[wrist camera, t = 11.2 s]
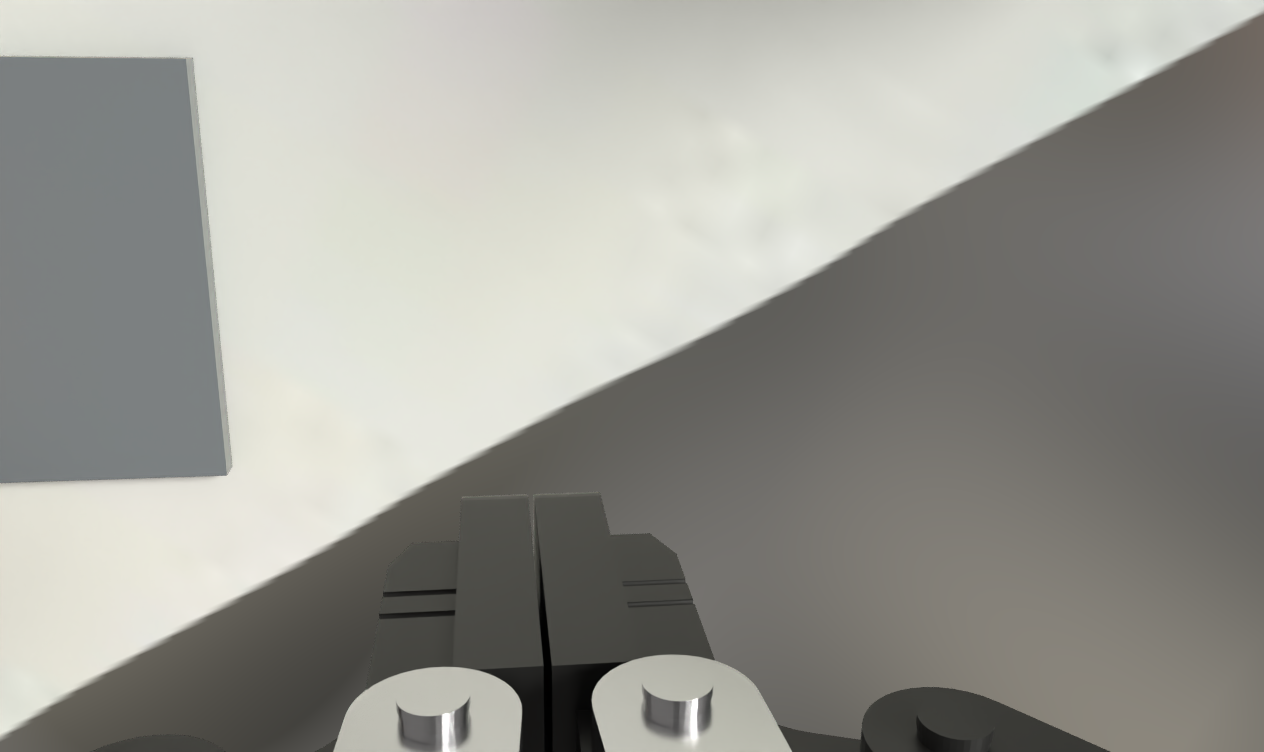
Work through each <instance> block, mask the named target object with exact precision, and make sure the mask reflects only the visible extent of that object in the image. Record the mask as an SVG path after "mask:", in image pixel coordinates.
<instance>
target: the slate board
mask: <svg viewBox="0 0 1264 752" xmlns="http://www.w3.org/2000/svg"><path fill="white" fill-rule="evenodd" d="M231 468H232V458H231V447H230V437H229V427H228V417H227V406H226V396H225V386H224V375H223V365H222V355H221V345H220V334H219V324H218V314H217V303H216V293H215V283H214V272H213V262H212V252H211V242H210V231H209V221H208V211H207V200H206V190H205V180H204V170H203V159H202V149H201V139H200V128H199V118H198V108H197V98H196V87H195V77H194V67H193V58H162V57H62V56H0V483H14V482H44V481H74V480H105V479H135V478H165V477H195V476H226V475H228V473H229V471H230V470H231Z"/></svg>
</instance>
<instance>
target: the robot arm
mask: <svg viewBox="0 0 1264 752" xmlns="http://www.w3.org/2000/svg"><path fill="white" fill-rule="evenodd" d="M533 537H534V538H533V539H534V540H533V541H534V555H533V544H532V533H531V522H530V511H529V500H528V494H525V495H524V494H523V495H496V496H468V497H461V513H460V532H459V541H447V542H421V543H412V544H411V545H409V546H408V547H407V548H406V550H404V551H403V552H402V553H401V554H400V555H399V556H398V557H397V558H396V559H395V560H394V561H393V562H392V563H391V564H390V565H389V566H388V569H387V574H386V580H385V585H384V591H383V597H382V602H381V607H380V613H379V616H380V617H379V620H378V624H377V630H376V635H375V641H374V646H373V652H372V657H371V663H370V668H369V674H368V679H367V685H366V690H365V691H364V692H363V693H362V694H361V695H360V696H359V697H357V698H356V699H355V701H354V702H353V703H352V704H351V706H350V707H349V709H348V711H347V713H346V715H345V718H344V721H343V724H342V727H341V730H340V733H339V736H338V738H337V739H335V740H334V741H332V742H331V743H329V744H328V745H326V746H325V747H323V748H321V749H319V750H317V751H315V752H1110V751H1107V750H1105V749H1103V748H1101V747H1098V746H1096V745H1094V744H1092V743H1089V742H1087V741H1085V740H1083V739H1080V738H1078V737H1076V736H1073V735H1071V734H1069V733H1067V732H1064V731H1062V730H1060V729H1058V728H1055V727H1053V726H1051V725H1049V724H1046V723H1044V722H1042V721H1040V720H1037V719H1035V718H1033V717H1030V716H1028V715H1026V714H1024V713H1022V712H1019V711H1017V710H1015V709H1013V708H1010V707H1008V706H1006V705H1004V704H1001V703H999V702H996V701H994V700H991V699H989V698H986V697H984V696H981V695H977V694H974V693H970V692H966V691H961V690H956V689H949V688H939V687H921V688H910V689H905V690H900V691H897V692H894V693H891V694H888V695H886V696H884V697H882V698H880V699H879V700H877V701H876V702H874V703H873V704H872V705H871V706H870V707H869V709H868V710H867V712H866V713H865V715H864V718H863V722H862V732H861V740H858V739H851V738H844V737H837V736H829V735H823V734H816V733H810V732H804V731H798V730H794V729H791V728H787V727H783V726H780V725H777V723H776V721H775V720H774V718H773V716H772V714H771V712H770V710H769V709H768V707H767V705H766V703H765V701H764V700H763V698H762V696H761V694H760V692H759V691H758V689H757V688H756V686H755V685H754V684H753V683H752V682H751V681H750V680H749V679H748V678H747V677H746V676H744V675H743V674H742V673H740V672H739V671H737V670H735V669H733V668H731V667H729V666H727V665H725V664H722V663H720V662H717V661H715V660H714V657H713V654H712V651H711V649H710V646H709V643H708V640H707V637H706V635H705V632H704V629H703V626H702V623H701V621H700V618H699V615H698V612H697V610H696V607H695V605H694V604H693V599H692V596H691V593H690V590H689V588H688V585H687V584H686V583H685V577H684V574H683V571H682V568H681V565H680V563H679V560H678V557H677V554H676V553H675V552H673V551H672V550H671V549H669V548H668V547H667V546H665V545H664V544H663V543H661V542H660V541H659V540H658V539H656V538H655V537H653V536H652V535H651V534H650V533H647V534H623V535H610V532H609V527H608V523H607V519H606V515H605V511H604V507H603V503H602V499H601V495H600V492H584V493H557V494H556V493H555V494H534V496H533ZM91 752H225V751H224V750H223V749H222V748H221V747H219V746H217V745H215V744H214V743H212V742H209V741H206V740H204V739H200V738H196V737H191V736H185V735H152V736H145V737H137V738H132V739H128V740H123V741H119V742H116V743H113V744H110V745H107V746H103V747H101V748H98V749H96V750H93V751H91Z"/></svg>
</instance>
